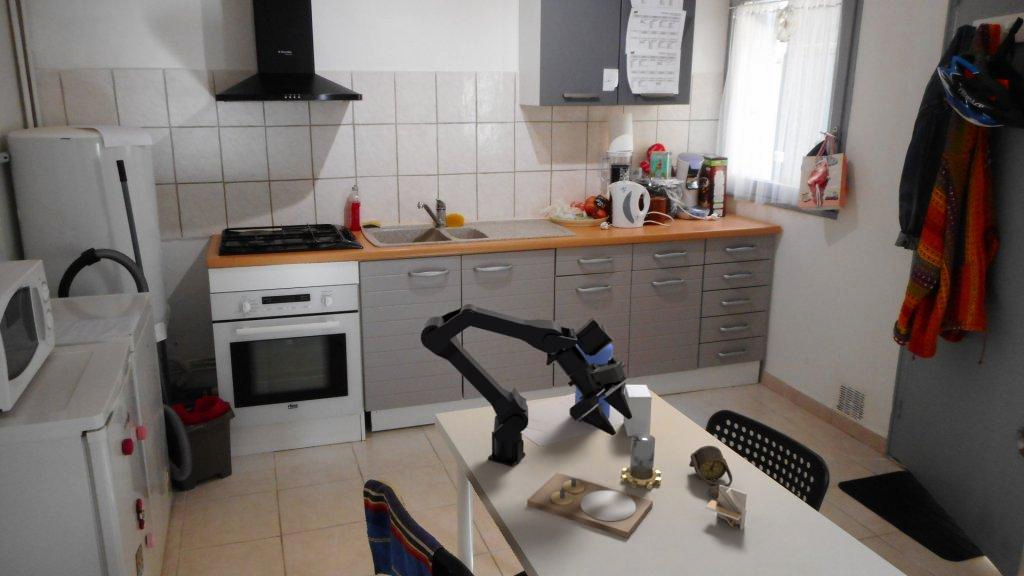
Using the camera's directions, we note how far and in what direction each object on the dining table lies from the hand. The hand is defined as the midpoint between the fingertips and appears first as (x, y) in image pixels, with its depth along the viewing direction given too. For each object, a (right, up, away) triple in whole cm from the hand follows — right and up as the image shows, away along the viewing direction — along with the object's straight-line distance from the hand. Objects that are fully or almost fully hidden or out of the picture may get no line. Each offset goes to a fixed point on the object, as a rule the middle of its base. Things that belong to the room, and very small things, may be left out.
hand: (622, 426), depth 164 cm
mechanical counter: (+19, -12, -1) cm, 22 cm away
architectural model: (+18, -17, -15) cm, 29 cm away
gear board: (-8, -14, -10) cm, 19 cm away
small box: (+7, -5, +24) cm, 25 cm away
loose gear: (+4, -12, +1) cm, 12 cm away
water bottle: (-3, -3, +32) cm, 32 cm away
